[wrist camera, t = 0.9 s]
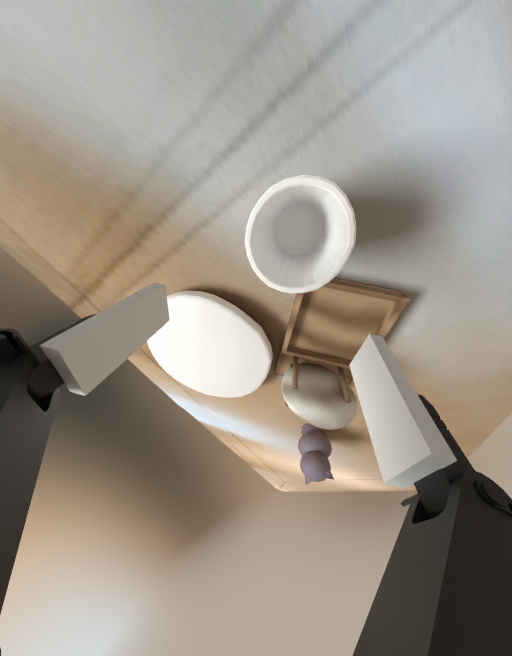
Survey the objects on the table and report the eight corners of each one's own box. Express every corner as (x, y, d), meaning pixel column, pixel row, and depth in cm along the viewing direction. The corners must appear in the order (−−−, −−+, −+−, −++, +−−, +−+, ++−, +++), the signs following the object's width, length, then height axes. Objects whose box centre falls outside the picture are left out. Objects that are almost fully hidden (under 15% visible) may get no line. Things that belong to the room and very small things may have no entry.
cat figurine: (316, 416, 50) (320, 469, 40) (335, 432, 51) (343, 485, 42) (292, 426, 54) (290, 475, 44) (310, 440, 56) (312, 490, 46)
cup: (290, 170, 24) (282, 143, 14) (350, 214, 26) (385, 219, 15) (253, 242, 30) (228, 261, 19) (305, 275, 31) (307, 310, 21)
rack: (302, 271, 31) (304, 311, 19) (400, 291, 29) (467, 347, 18) (275, 369, 44) (265, 429, 32) (342, 386, 42) (358, 455, 31)
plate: (150, 381, 48) (126, 280, 33) (168, 364, 53) (153, 271, 38) (255, 422, 43) (280, 324, 28) (262, 399, 48) (287, 307, 34)
